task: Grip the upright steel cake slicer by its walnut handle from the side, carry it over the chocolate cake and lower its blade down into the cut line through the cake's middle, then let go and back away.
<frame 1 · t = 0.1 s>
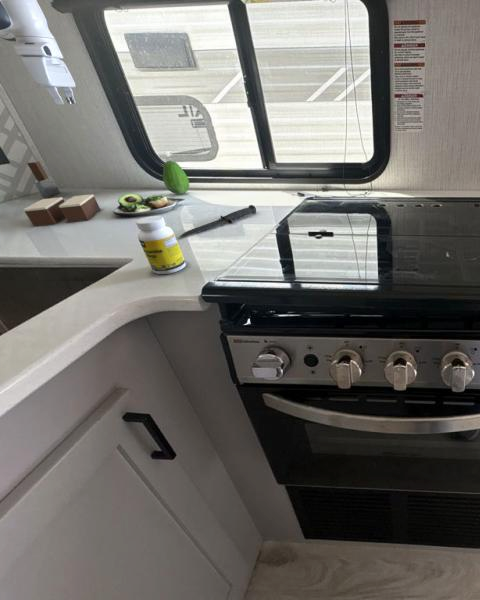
hand: (66, 104, 107), 30 cm above the countertop, tool pointing down, fingers open, 8 cm apart
salad plate: (147, 210, 109), on the countertop
avocado: (181, 194, 126), on the countertop
knife: (220, 225, 96), on the countertop
pill bottle: (170, 269, 72), on the countertop
cake: (69, 217, 103), on the countertop
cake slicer: (52, 195, 126), on the countertop
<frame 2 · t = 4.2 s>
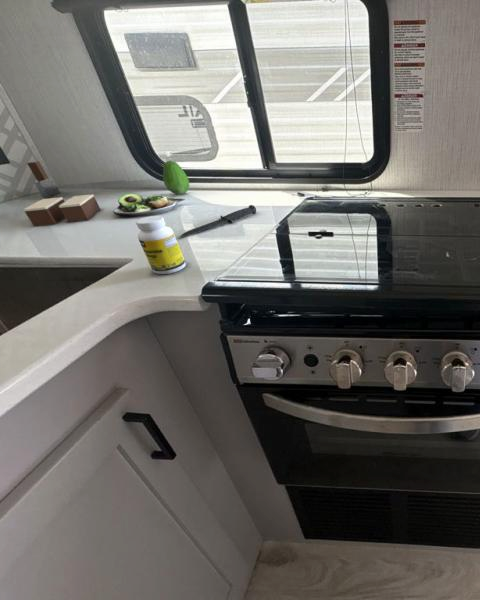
nothing on the countertop moved.
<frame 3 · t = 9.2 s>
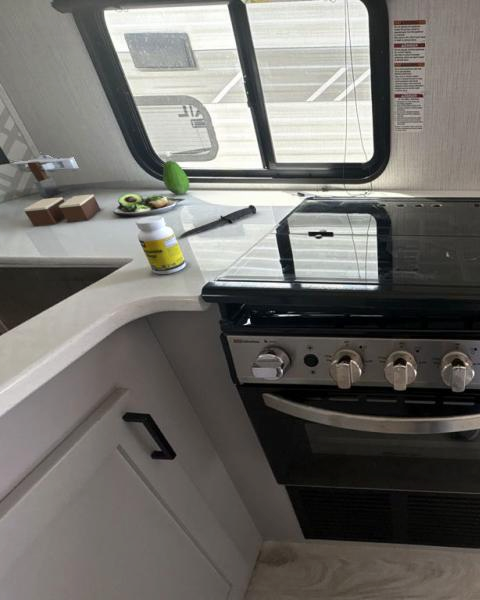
hand: (35, 168, 120), 10 cm above the countertop, tool horizontal, fingers closed on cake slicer, 2 cm apart
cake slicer: (52, 195, 126), on the countertop, touching gripper
everything else where it was.
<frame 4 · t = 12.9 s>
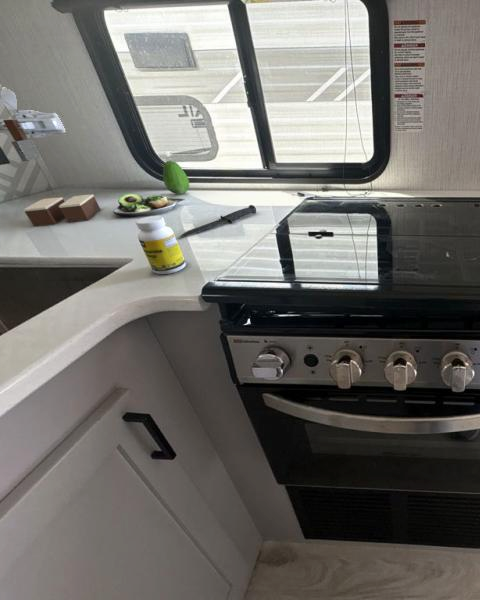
hand: (12, 126, 109), 24 cm above the countertop, tool horizontal, fingers closed on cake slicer, 2 cm apart
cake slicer: (32, 158, 115), point 14 cm above the countertop, touching gripper
everything else where it was.
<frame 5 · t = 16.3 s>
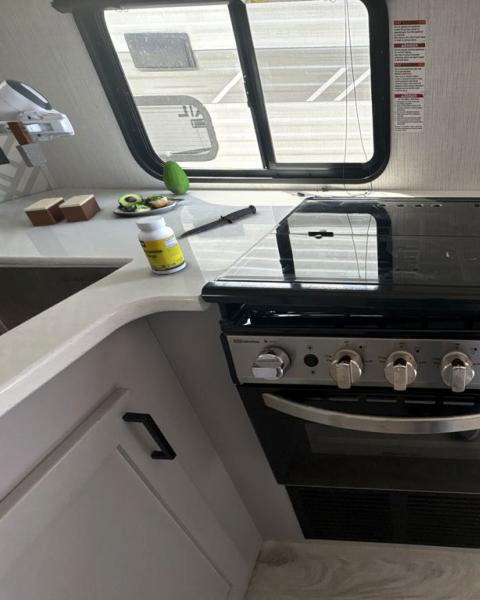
hand: (17, 129, 98), 24 cm above the countertop, tool horizontal, fingers closed on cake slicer, 2 cm apart
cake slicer: (38, 164, 104), point 14 cm above the countertop, touching gripper
everything else where it was.
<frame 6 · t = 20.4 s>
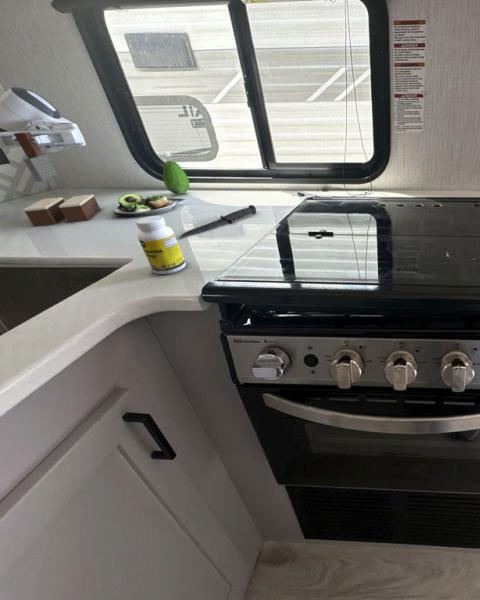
hand: (24, 141, 91), 22 cm above the countertop, tool horizontal, fingers closed on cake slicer, 2 cm apart
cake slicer: (47, 178, 97), point 12 cm above the countertop, touching gripper
everything else where it was.
when the fingers open (10 cm above the countertop, at t = 23.7 s): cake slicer stays where it is, on the countertop.
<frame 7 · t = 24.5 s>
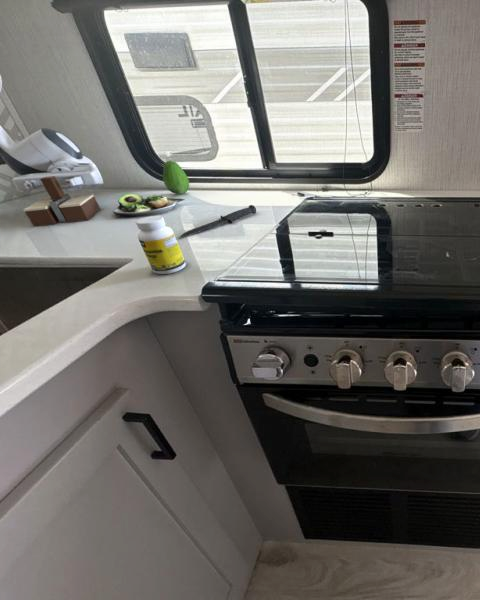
hand: (49, 184, 97), 10 cm above the countertop, tool horizontal, fingers open, 8 cm apart
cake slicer: (69, 217, 103), on the countertop
everything else where it was.
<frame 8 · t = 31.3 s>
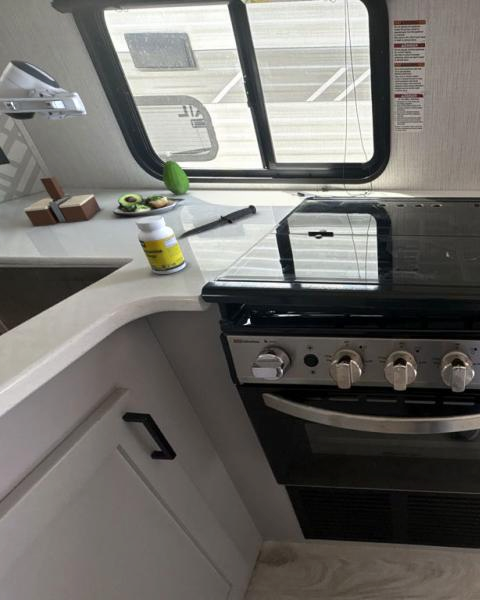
hand: (29, 105, 97), 30 cm above the countertop, tool horizontal, fingers open, 8 cm apart
nothing on the countertop moved.
at the end: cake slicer 0.1 cm off-centre on the cake, point 0.0 cm above the cake's base; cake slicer tilted 0°; the gripper is holding nothing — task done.
